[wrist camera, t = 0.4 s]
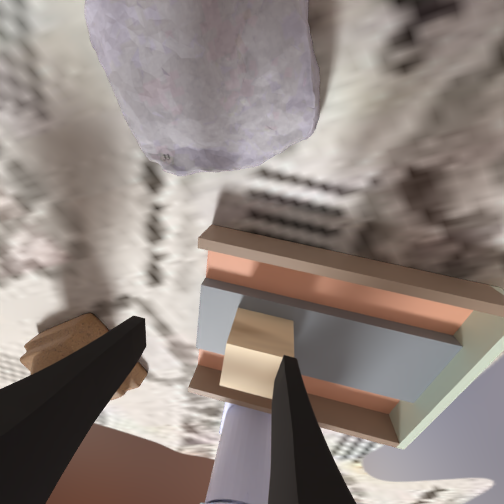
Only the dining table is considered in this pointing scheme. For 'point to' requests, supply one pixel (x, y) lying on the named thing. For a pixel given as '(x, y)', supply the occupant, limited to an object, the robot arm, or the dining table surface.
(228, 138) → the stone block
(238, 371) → the maple block
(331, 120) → the dining table surface
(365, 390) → the box
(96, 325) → the candle holder
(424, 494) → the dining table surface
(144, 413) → the dining table surface
